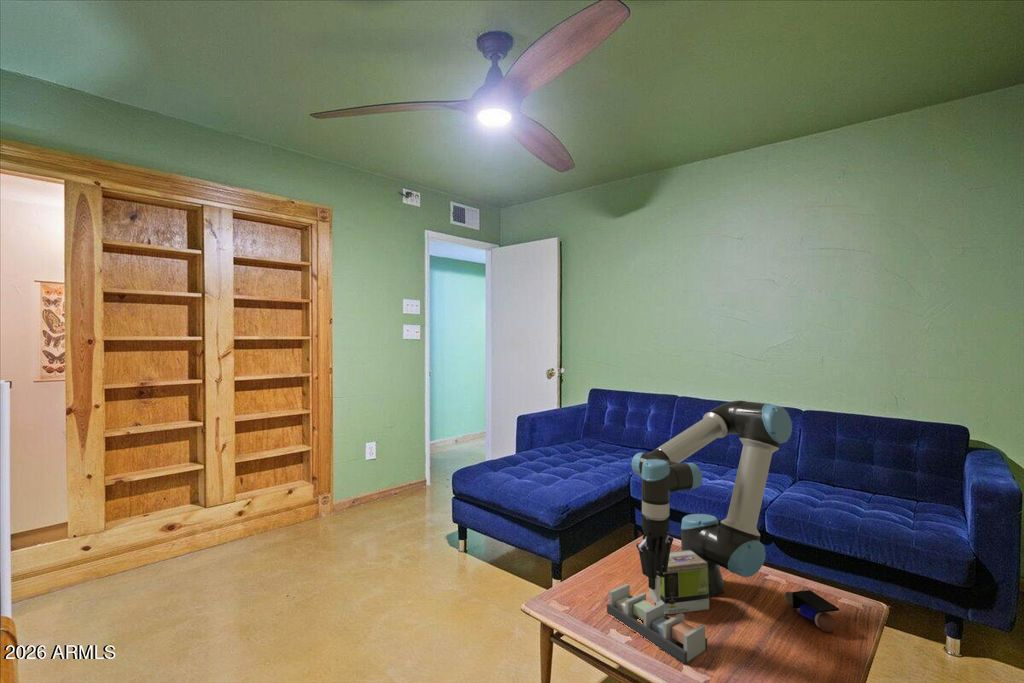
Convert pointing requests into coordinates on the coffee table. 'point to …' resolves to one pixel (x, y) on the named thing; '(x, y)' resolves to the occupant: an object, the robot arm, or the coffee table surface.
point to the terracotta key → (680, 631)
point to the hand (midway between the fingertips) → (654, 598)
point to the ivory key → (621, 604)
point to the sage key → (641, 608)
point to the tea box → (685, 583)
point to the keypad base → (692, 639)
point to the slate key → (658, 625)
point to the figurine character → (813, 608)
